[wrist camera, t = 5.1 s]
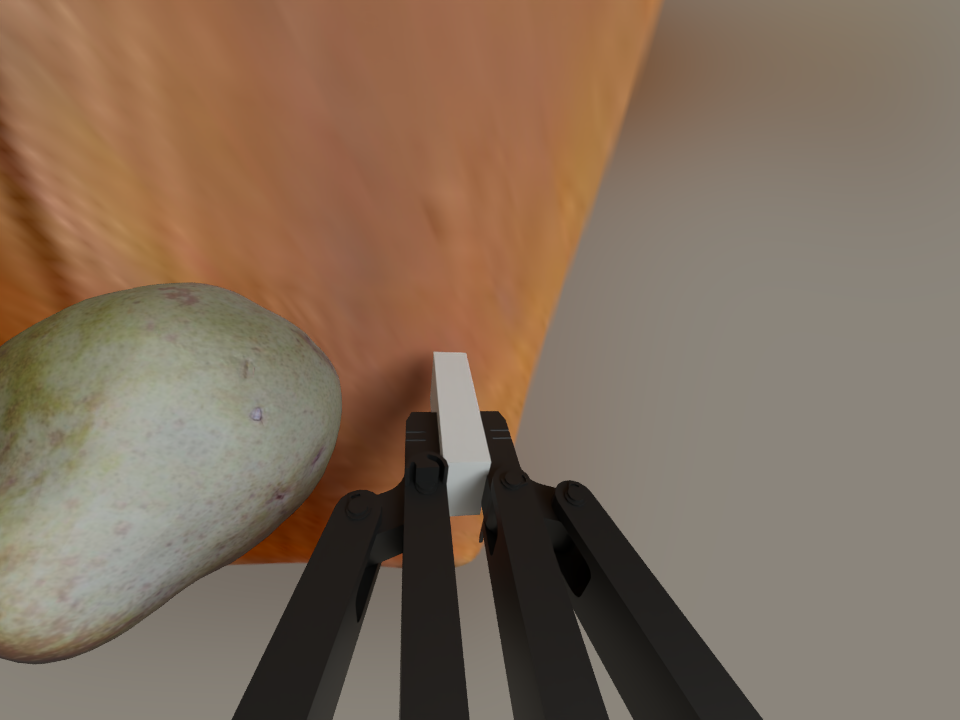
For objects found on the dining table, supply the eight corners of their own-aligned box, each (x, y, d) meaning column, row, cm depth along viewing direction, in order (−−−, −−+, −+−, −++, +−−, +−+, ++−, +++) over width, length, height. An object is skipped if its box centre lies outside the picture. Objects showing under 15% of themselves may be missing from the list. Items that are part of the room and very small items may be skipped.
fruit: (65, 342, 15) (-561, 733, 6) (193, 188, 13) (-475, 383, 3) (279, 455, 21) (155, 762, 11) (398, 358, 18) (379, 633, 8)
